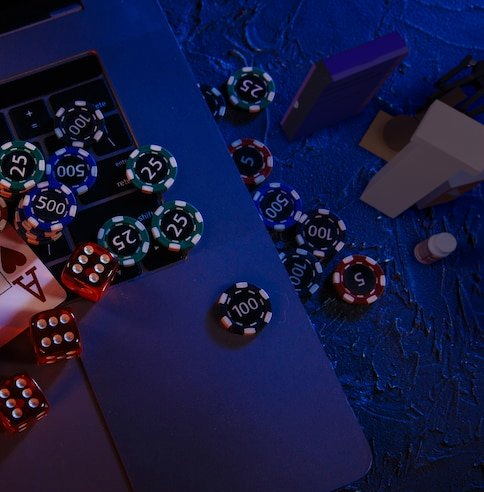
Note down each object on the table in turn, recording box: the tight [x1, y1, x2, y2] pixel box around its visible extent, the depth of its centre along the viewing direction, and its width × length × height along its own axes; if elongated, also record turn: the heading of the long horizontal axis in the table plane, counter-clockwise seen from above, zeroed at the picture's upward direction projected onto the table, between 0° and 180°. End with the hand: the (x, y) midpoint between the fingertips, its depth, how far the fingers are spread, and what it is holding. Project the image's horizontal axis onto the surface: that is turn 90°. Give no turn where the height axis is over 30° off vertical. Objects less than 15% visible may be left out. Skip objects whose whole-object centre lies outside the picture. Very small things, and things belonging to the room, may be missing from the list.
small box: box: [415, 170, 484, 210], centre depth 125 cm, size 8×6×13 cm
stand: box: [359, 99, 484, 219], centre depth 117 cm, size 12×8×30 cm, turn 56°
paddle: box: [383, 86, 468, 151], centre depth 131 cm, size 8×18×2 cm, turn 121°
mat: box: [358, 109, 400, 163], centre depth 134 cm, size 12×10×1 cm
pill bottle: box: [414, 232, 458, 265], centre depth 124 cm, size 5×5×8 cm
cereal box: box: [279, 29, 411, 142], centre depth 125 cm, size 17×5×24 cm, turn 113°
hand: (423, 116), depth 129 cm, fingers closed on paddle, 3 cm apart
